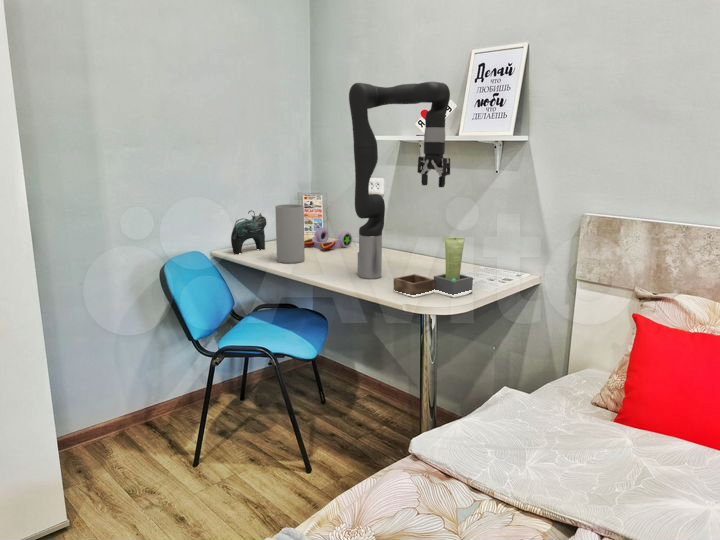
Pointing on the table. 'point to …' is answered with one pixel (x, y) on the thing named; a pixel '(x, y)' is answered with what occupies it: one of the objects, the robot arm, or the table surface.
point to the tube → (453, 257)
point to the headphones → (322, 237)
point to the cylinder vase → (290, 233)
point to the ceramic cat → (248, 233)
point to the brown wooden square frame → (413, 284)
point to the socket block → (453, 284)
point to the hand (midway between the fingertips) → (432, 186)
